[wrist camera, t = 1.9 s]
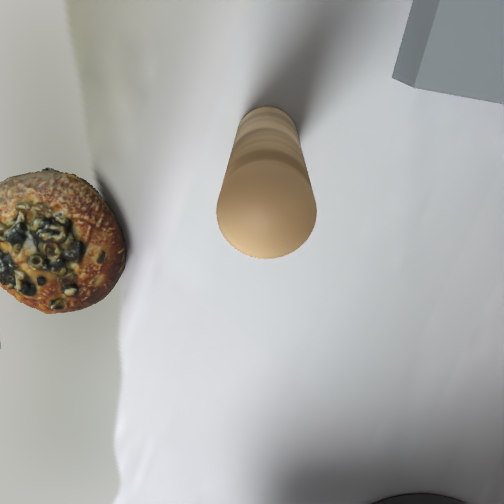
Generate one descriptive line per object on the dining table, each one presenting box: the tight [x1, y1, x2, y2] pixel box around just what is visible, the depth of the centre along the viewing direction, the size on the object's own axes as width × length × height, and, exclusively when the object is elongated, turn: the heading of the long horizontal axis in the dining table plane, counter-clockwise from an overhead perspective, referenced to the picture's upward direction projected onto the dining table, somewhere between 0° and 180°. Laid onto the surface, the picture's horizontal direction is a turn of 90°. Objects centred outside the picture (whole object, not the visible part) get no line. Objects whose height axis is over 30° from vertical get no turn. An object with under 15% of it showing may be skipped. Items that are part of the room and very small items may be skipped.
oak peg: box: [216, 106, 317, 259], centre depth 26 cm, size 4×4×14 cm
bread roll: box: [0, 168, 126, 314], centre depth 34 cm, size 11×11×5 cm
